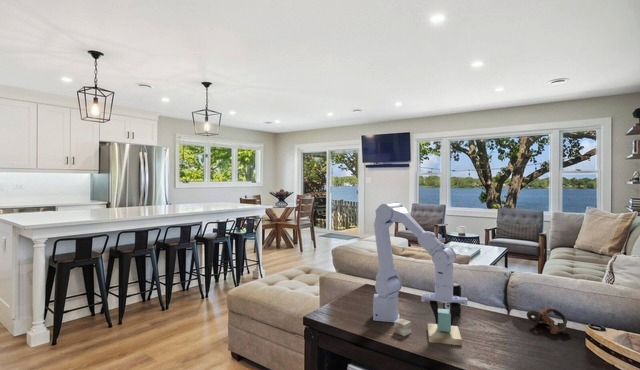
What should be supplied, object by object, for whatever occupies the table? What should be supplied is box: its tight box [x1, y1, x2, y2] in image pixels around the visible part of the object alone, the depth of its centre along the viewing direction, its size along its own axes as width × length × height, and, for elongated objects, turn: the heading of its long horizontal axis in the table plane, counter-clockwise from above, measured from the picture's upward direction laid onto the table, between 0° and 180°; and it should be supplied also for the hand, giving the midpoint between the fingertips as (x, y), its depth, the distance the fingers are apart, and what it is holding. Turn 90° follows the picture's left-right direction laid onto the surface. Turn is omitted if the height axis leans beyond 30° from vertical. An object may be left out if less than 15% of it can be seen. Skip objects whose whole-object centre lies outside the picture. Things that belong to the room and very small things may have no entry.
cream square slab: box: [427, 322, 463, 346], centre depth 116 cm, size 10×10×2 cm
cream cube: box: [393, 317, 412, 337], centre depth 119 cm, size 4×4×4 cm
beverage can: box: [442, 280, 462, 317], centre depth 136 cm, size 7×7×12 cm
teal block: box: [437, 308, 451, 332], centre depth 116 cm, size 4×4×6 cm
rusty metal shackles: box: [526, 307, 568, 335], centre depth 122 cm, size 12×10×8 cm
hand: (443, 323), depth 116 cm, fingers closed on teal block, 4 cm apart
